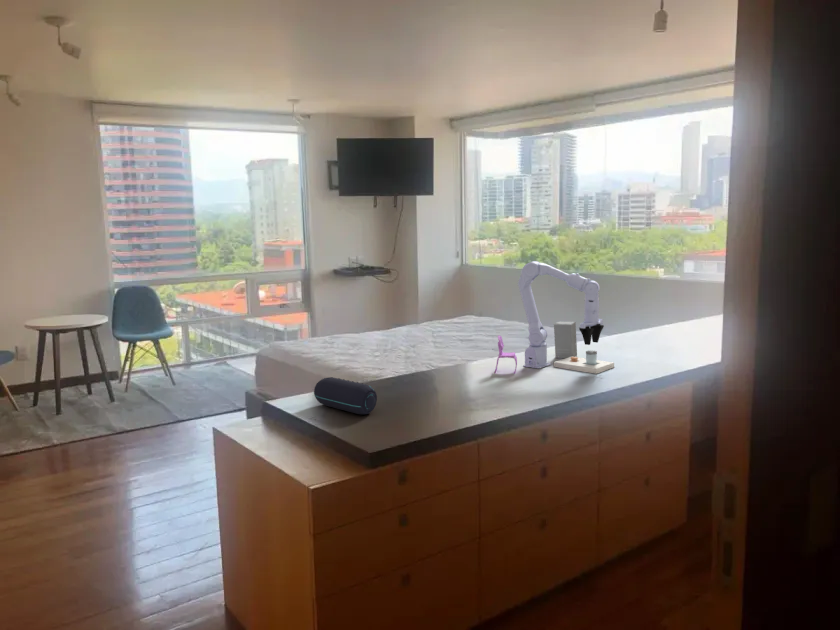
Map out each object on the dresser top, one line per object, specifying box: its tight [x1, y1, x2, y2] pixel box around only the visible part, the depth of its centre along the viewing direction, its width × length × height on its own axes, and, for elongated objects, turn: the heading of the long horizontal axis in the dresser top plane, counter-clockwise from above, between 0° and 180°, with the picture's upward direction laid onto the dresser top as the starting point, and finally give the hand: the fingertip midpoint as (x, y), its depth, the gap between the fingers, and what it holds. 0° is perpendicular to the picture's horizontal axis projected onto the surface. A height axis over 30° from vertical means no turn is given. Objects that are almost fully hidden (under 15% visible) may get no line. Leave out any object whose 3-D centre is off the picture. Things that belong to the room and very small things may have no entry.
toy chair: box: [494, 335, 518, 374], centre depth 267 cm, size 8×9×15 cm
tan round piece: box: [571, 356, 578, 362], centre depth 275 cm, size 3×3×3 cm
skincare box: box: [553, 321, 578, 359], centre depth 291 cm, size 8×7×16 cm
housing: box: [553, 356, 615, 375], centre depth 272 cm, size 14×20×2 cm
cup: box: [585, 350, 598, 365], centre depth 269 cm, size 4×4×7 cm
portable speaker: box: [313, 376, 378, 416], centre depth 220 cm, size 25×10×10 cm, turn 48°
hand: (591, 343), depth 268 cm, fingers open, 6 cm apart
